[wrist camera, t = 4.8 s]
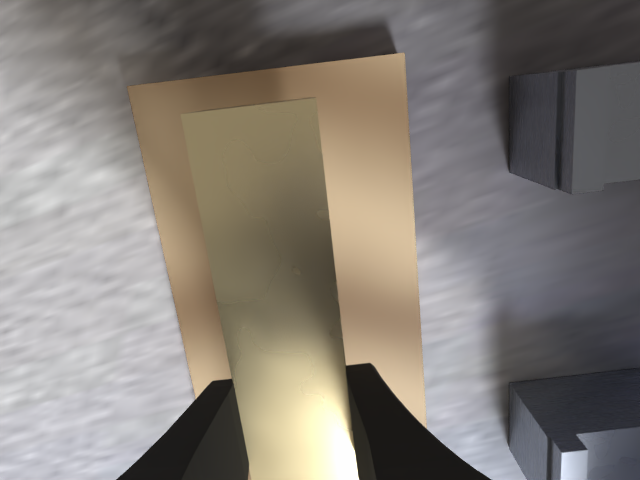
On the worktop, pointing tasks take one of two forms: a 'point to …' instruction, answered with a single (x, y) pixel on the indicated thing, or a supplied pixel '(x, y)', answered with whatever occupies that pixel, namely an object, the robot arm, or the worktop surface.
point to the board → (343, 203)
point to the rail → (275, 284)
